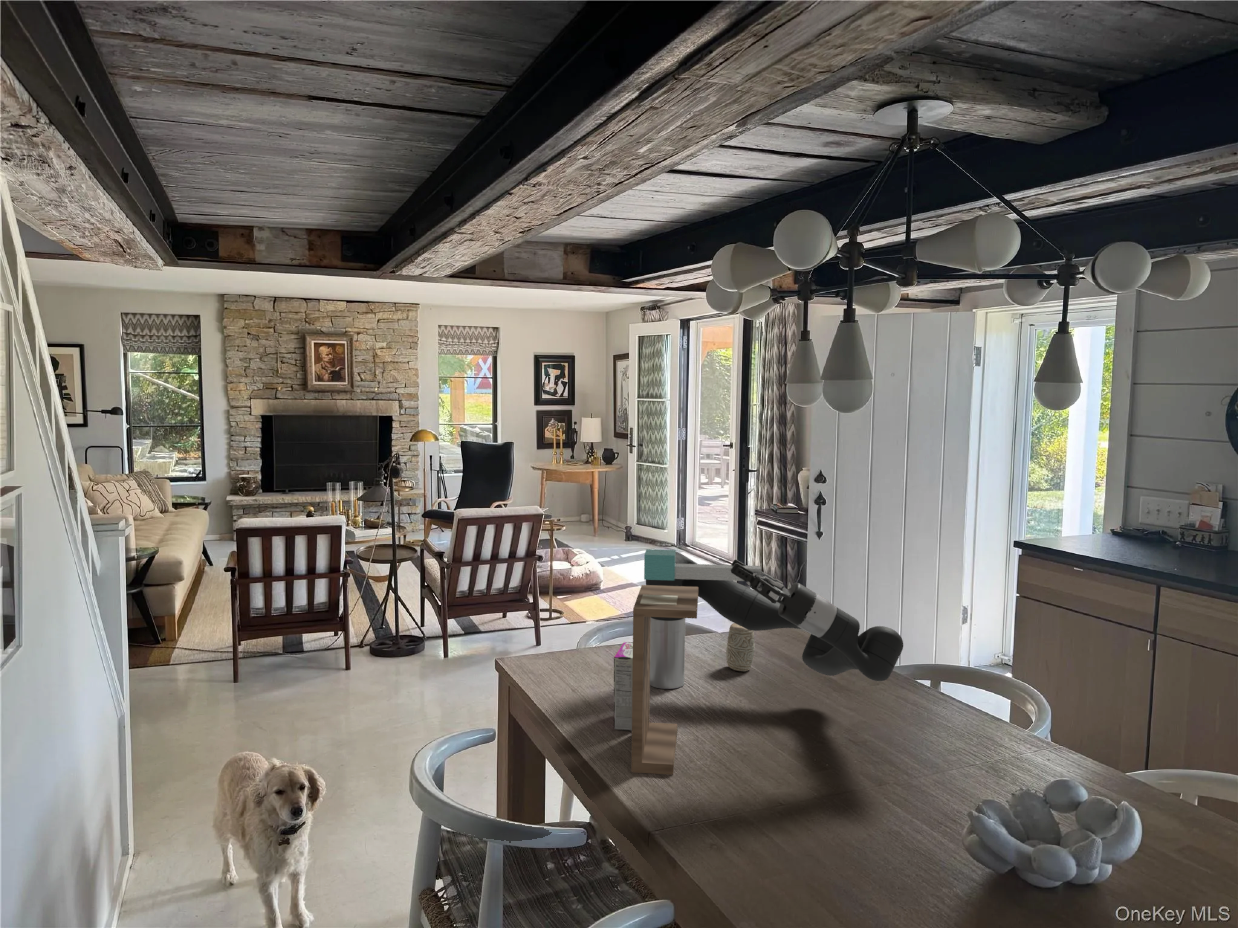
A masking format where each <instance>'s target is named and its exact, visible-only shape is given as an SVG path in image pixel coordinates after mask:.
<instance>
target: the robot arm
mask: <svg viewBox="0 0 1238 928" xmlns="http://www.w3.org/2000/svg"><path fill="white" fill-rule="evenodd" d="M676 564H698V563H697V562H695V561H694V560H692V559H691V558H689V557H688V556H686V555H684V554H682V553H680V552H678V551H676ZM730 565H734V566H733V567H732V569H731V573H732V574H734V575H736V576H737V577H739V578H741V579H742V580H744V581H743V582H746V584H747V585H748V586H749V587H748V586H746V585H744V584H741V583H739V582H738V581H737V582H736V581H730V580H696V579H675V580H645V585H657V586H686V587H698V598H700V599H702V600H703V601H705V602H706V603H707V604H708V605H709V606H710V607H711V608H712V609H713V610H714V611H716V612H717V613H718V614H719V615H721V616H722V617H723V618H725V619H726V620H728V621H730V622H732V623H736V624H738V625H740V626H742V627H744V628H746V629H748V630H752V631H755V632H757V631H759V632H761V631H770V630H777V629H778V630H779V629H797V630H802V631H805V632H806V633H808V634H810V635H809V638H808V640H807V642H806V644H805V647H804V649H803V651H802V656H801V657H802V658H801V659H802V661H803V663H804V664H805V665H806V666H807V667H808V668H810V669H811V670H813V671H815V672H817V673H819V674H822V675H825V676H832V677H833V676H837V675H841V674H843V673H846V672H848V671H850V670H857V671H859V672H860V673H861V674H862V675H863V676H865V678H868V679H869V680H871V681H874V682H885V681H886V680H888V679H889V678H890V677H891V675H892V672H893V670H894V668H895V666H896V664H897V663H898V661H899V658H900V656H901V654H902V653H903V650H904V640H903V638H902V636H901V635H900V634H899V632H897V631H896V630H895V629H892V628H890V627H888V626H881V625H879V626H878V625H877V626H872V627H869V628H868V629H866V630H864V631H863V632H861V633H859V632H860V629H861V625H860V622H859V620H858V619H857V618H855V617H854V616H852V615H851V614H849V613H848V612H846V611H844V610H842V609H841V608H839V607H837V606H835V605H834V604H833V603H832V602H830V601H829V600H828V599H826V598H824V597H823V596H821V595H820V594H818V593H816V592H814V591H813V590H811V589H810V588H808V587H806V586H805V585H803V584H801V583H799V582H794V583H793V584H792V585H791V586H790V588H786V587H785V585H784V582H783V581H781V580H779V579H778V578H775V576H772V575H770V574H767V573H766V572H764V571H762V570H761V576H759V575H757V574H756V573H754V572H753V573H752V572H751V571H750V570H748V569H746V568H745V567H743V566H742V565H744V566H746V564H745V563H743V562H742V561H739V560H738V559H734V560H733V561H732V562H731V564H730ZM751 573H752V574H751ZM685 665H686V618H668V617H651V638H650V687H654V688H656V689H662V690H663V689H665V690H672V689H678V688H682V687H683V686H684V685H685V669H686V667H685Z"/></svg>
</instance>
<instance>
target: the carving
mask: <svg viewBox="0 0 1238 928" xmlns="http://www.w3.org/2000/svg"><path fill="white" fill-rule="evenodd" d="M727 635H728V636H727V642H726V651H725V652H726V653H725V655H726V657H725V658H726V659H725V660H726V664H727V666H728V668H730V669H731V670H733V671H738V672H743V673H744V672H748V671H749V670H750V669H751V667H752V663H753V661H754V657H755V650H756V649H755V646H756V645H755V642H756V641H755V632H754V631H752V630H748V629H746V628H744V627H742V626H740V625H738V624H736V623H734V622H732V624H730V626H729V630H728V634H727Z"/></svg>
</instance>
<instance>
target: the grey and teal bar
mask: <svg viewBox="0 0 1238 928" xmlns="http://www.w3.org/2000/svg"><path fill="white" fill-rule="evenodd" d="M676 552H677V550H676V549H652V548H651V549H645V552H644V556H643V557H644V559H643V560H644V568H643V580H644V581H646V580H675V579H696V580H730V581H734V582H736V581H737V582H745V581H744V580H742V579H741V578H739V577H737V576H736V575H734V574H732V573H731V569H732V567H733V566H734V565H731V564H705V563H702V564H701V563H697V564H676ZM745 565H746V564H745ZM742 566H743V567H745V568H746V569H748V570H750V571H751V572H752V573H753V572H754V573H756V574H757V575H759V576H761V571H762V567H761V565H746V566H744V565H742ZM752 573H751V574H752Z"/></svg>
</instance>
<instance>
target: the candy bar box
mask: <svg viewBox="0 0 1238 928" xmlns="http://www.w3.org/2000/svg"><path fill="white" fill-rule="evenodd" d="M632 674H633V642H629V641H624V642H623V643H622V644H621V645H620V647H619V649H618V651H617V652H616V653H615V654H614V656H613V729H614V730H616V731H623V732H625V731H627V732H632Z"/></svg>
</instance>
